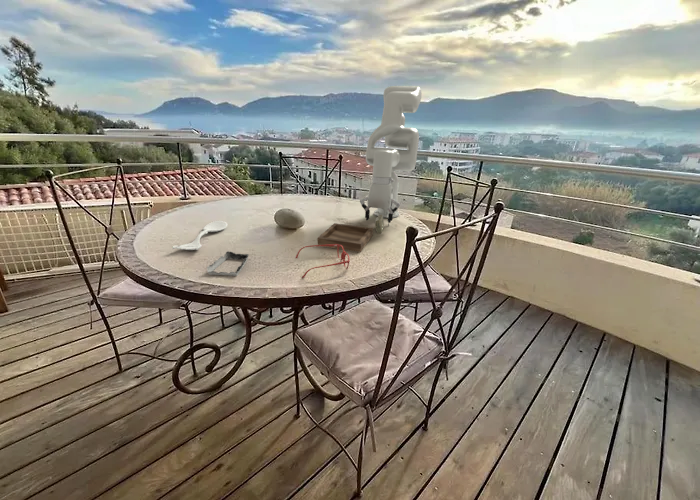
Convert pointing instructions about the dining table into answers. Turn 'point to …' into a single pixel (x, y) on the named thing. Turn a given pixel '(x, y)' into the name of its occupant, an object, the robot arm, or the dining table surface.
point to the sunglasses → (330, 264)
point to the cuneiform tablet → (380, 223)
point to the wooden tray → (346, 237)
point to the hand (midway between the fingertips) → (378, 220)
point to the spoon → (209, 227)
